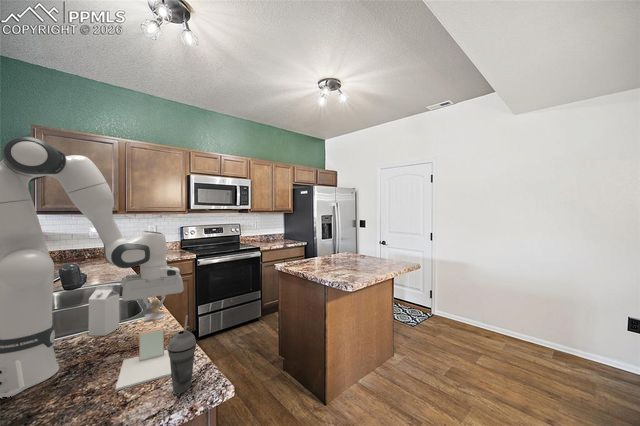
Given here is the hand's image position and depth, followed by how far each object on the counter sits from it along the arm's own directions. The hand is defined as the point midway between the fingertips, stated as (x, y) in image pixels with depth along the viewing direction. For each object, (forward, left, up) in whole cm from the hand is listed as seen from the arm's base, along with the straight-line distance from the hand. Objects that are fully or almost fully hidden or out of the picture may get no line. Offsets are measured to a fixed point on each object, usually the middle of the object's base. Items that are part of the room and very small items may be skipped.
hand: (154, 307), depth 102 cm
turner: (0, -2, -2) cm, 2 cm away
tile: (0, -16, -8) cm, 17 cm away
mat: (-1, -21, -13) cm, 25 cm away
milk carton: (-18, +19, -13) cm, 30 cm away
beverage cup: (+8, -38, -13) cm, 40 cm away
